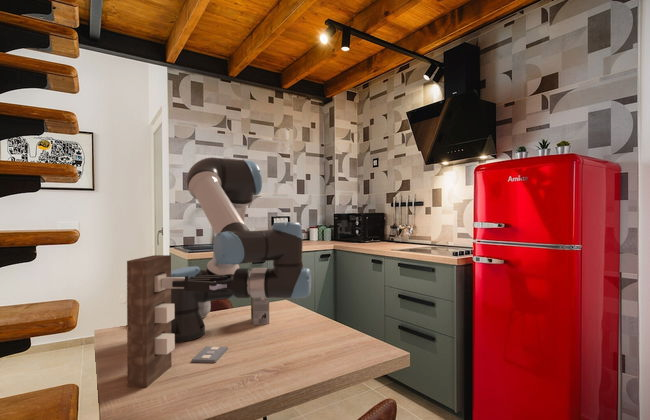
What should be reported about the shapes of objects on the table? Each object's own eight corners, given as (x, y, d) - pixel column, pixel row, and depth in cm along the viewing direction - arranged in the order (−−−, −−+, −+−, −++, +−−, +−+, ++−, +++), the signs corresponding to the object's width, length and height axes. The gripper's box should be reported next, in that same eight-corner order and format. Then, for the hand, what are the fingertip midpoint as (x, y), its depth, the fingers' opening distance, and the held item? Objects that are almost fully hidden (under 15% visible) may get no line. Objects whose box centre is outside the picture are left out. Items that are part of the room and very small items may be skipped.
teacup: (201, 322, 140) (201, 301, 140) (177, 320, 142) (177, 300, 142) (219, 312, 154) (218, 293, 154) (196, 311, 156) (196, 293, 156)
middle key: (174, 318, 95) (174, 303, 95) (166, 323, 91) (166, 307, 91) (160, 318, 95) (160, 303, 95) (151, 323, 91) (151, 307, 91)
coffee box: (250, 319, 143) (250, 279, 143) (266, 317, 145) (266, 278, 145) (252, 325, 134) (252, 283, 135) (269, 323, 136) (269, 282, 137)
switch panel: (171, 366, 99) (170, 255, 99) (146, 387, 87) (146, 260, 87) (154, 365, 99) (153, 255, 100) (127, 386, 87) (126, 260, 88)
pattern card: (227, 349, 111) (227, 346, 111) (215, 362, 101) (215, 359, 101) (206, 348, 111) (206, 345, 111) (191, 362, 101) (191, 358, 102)
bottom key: (174, 348, 95) (174, 333, 95) (166, 354, 91) (166, 338, 91) (160, 348, 95) (160, 333, 95) (151, 354, 91) (151, 338, 91)
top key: (166, 288, 95) (166, 273, 95) (158, 291, 91) (158, 276, 91) (152, 288, 95) (151, 273, 95) (143, 291, 91) (143, 276, 91)
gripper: (243, 303, 85) (149, 303, 87) (257, 292, 98) (175, 291, 100) (243, 272, 85) (149, 272, 87) (257, 264, 98) (175, 264, 100)
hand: (163, 282), depth 93 cm, fingers closed
